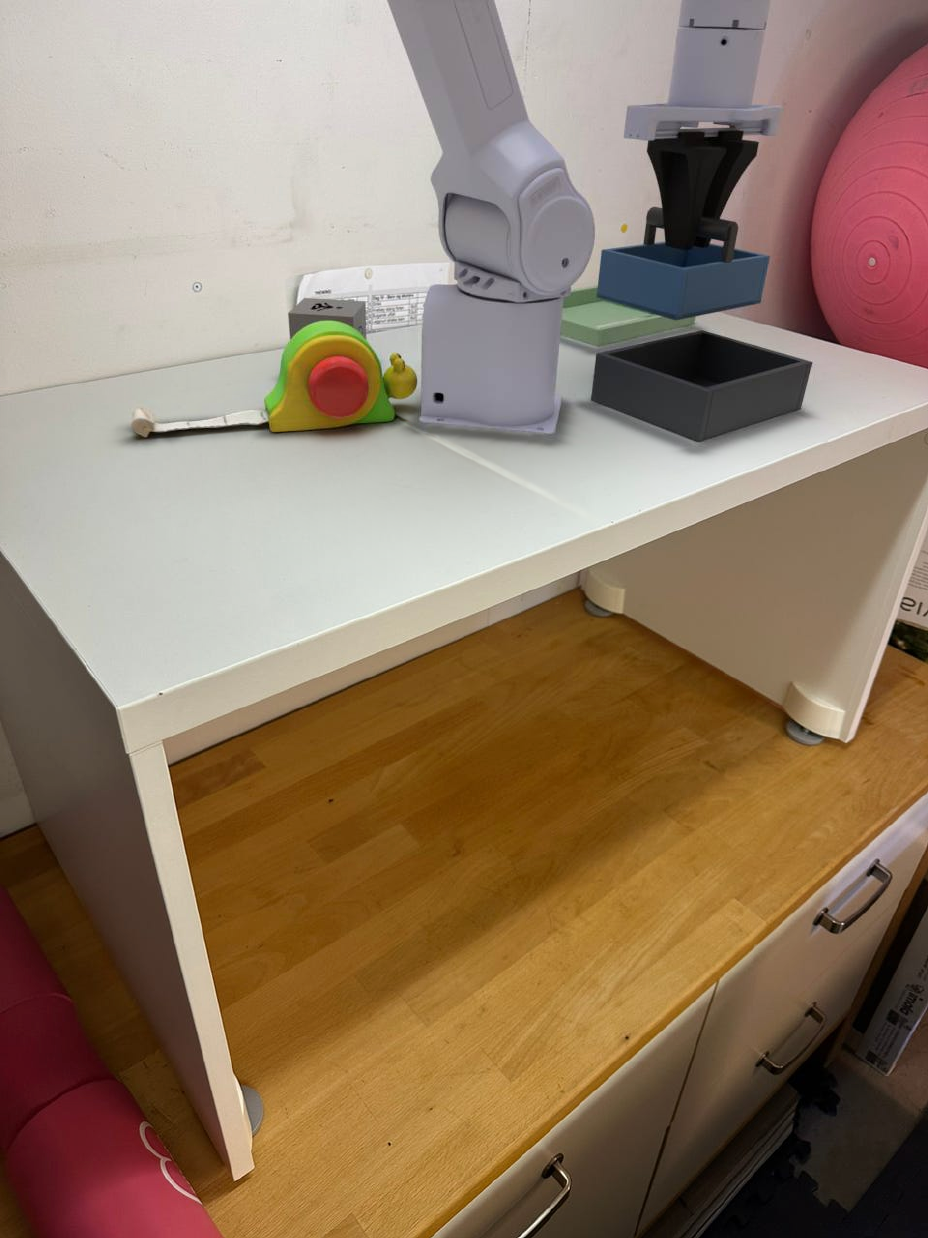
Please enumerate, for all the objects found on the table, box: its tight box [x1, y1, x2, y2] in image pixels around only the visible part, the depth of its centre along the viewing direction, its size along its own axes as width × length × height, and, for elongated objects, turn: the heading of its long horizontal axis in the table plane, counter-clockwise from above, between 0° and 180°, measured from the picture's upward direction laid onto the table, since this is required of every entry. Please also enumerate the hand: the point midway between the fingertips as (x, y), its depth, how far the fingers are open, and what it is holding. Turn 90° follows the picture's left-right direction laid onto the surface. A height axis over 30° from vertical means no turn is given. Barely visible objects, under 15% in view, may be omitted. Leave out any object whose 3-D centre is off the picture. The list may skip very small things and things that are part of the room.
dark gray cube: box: [287, 297, 367, 341], centre depth 71 cm, size 5×5×5 cm
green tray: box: [560, 285, 697, 347], centre depth 87 cm, size 14×12×2 cm
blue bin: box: [597, 206, 771, 320], centre depth 67 cm, size 10×8×6 cm
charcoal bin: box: [590, 329, 814, 443], centre depth 66 cm, size 12×10×4 cm
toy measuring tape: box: [131, 321, 418, 438], centre depth 60 cm, size 6×20×7 cm, turn 107°
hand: (686, 246), depth 67 cm, fingers closed on blue bin
